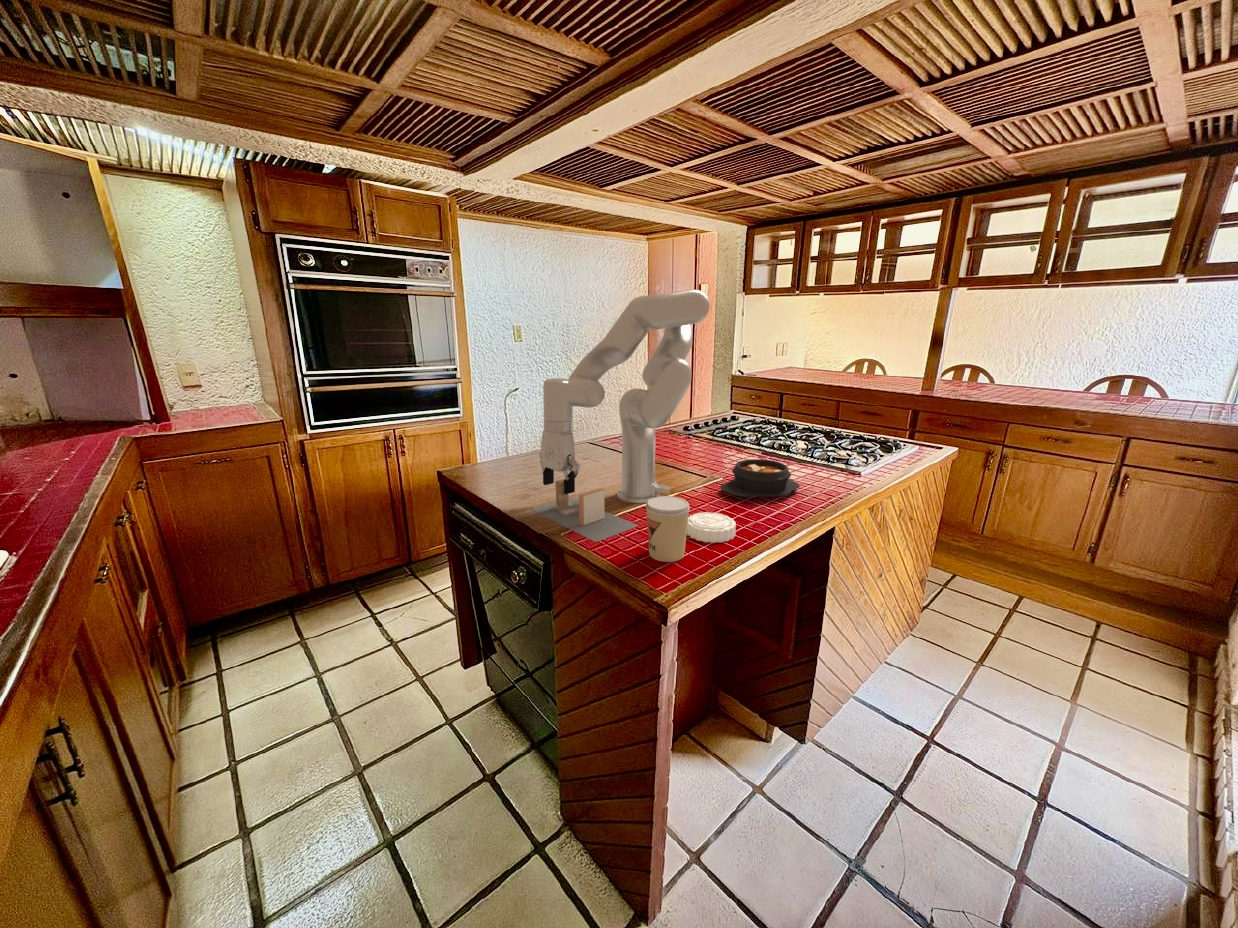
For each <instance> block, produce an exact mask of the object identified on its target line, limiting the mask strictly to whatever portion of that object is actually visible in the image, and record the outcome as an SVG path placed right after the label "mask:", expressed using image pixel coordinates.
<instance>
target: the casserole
mask: <svg viewBox="0 0 1238 928" xmlns="http://www.w3.org/2000/svg"><path fill="white" fill-rule="evenodd" d="M731 472H732V473H733V475H734V478H733V479H731V480H730V481H728V482H725V483H723V484H721V485H720V487H719V488H720V489H721V490H722V491H724V492H726V493H727V494H730V495H733V496H736V497H740V498H762V499H764V498H765V499H768V498H775V497H782V496H783V497H784V496H786V495H788V494H791V493H792V492H793V491H795V490H796V489H799V488H800V486H801V485H800V484H799V483H798V482H796V481H795V480H793V479H791V476H792V473H791V472H790V470H789V466H788V465H786V464H785V463H782V462H780V461H775V460H769V459H762V458H761V459H759V458H757V459H755V458H754V459H753V458H752V459H751V458H750V459H744V460H740V461H737V462H736V464H735V466H734V467H733V468H732V470H731Z"/></svg>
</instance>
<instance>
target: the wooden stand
mask: <svg viewBox="0 0 1238 928" xmlns="http://www.w3.org/2000/svg"><path fill="white" fill-rule="evenodd" d="M554 482H555V502H556V505H554V506H552V509H553V510H556V511H558V512H560V513H562V514H564V515H566V516H568V515H571V514H575V513H578V512H579V507H578V506H575V505H573V504H571V503H569V502H568V499H569V494H564V479H563V478H562V479H559V480H554Z"/></svg>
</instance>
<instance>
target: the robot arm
mask: <svg viewBox="0 0 1238 928" xmlns="http://www.w3.org/2000/svg"><path fill="white" fill-rule="evenodd" d="M710 305H711V304H710V300H709V297H708V295H707V294H705V292H703V291H701V290H699V289H687V290H680V291H679V290H677V291H673V292H669V293H668V292H667V293H659V294H657V293H656V294H648V295H641V296H637V297H635V298H633V299H632V300H631V301H630V302H629V303H628V304H627V306H626V307H625V308H624V309H623V312H622V313H621V314H620V315H619V317H618V318H617V320H616V321H615V323H614V324H613V325H612V326H611V328H610V330H609V331H608V332H607V334H606V335H605V336H604V338H603V339H602V340H601V341H600V342H599V343H598V344H596V345H595V346H594V347H593V348H592V349H591V350H590V351H589V352H588V353H587V354H586V355H585V356H584V357H583V358H582V359H581V361H580V362H579V363H578V364H577V366H576V367H575V368H574V370H573V372H571V374H570V375H569V377H568V378H560V377H559V378H558V377H557V378H554V377H553V378H547V379H545V380H544V381H543V386H542V388H543V389H542V390H543V392H542V393H543V394H542V395H543V397H542V398H543V430H542V435H541V441H540V451H539V452H538V456H539V460H540V461H539V462H540V465H541V471H542V484H543V486H547V485H553V484H554V482H555V476H554V475H555V474H554V473H555V471H556V472H558V473H559V472H562V474H563V477H564V479H563V480H564V494H568V495H569V494H573V493H575V491H576V490H575V489H576V486H575V485H576V478H577V476H578V475H579V471H580V468H581V465H580V464H579V463H578V461H577V460H576V451H575V450H576V449H575V439H574V434H573V432H574V431H573V425H574V424H573V423H574V422H573V421H574V420H573V418H574V416H573V408H574V407H576V408H577V407H579V408H587V409H588V408H589V409H590V408H591V409H592V408H595V407H598V406H599V405H601V403H602V402H603V401H604V399H605V394H606V393H605V389H604V387H603V385H602V384H601V382H599V380H600V379H601V378H602V377H603V376H604V375H605V374H607V372H609V371H610V370H611V369H614V367H617V366H619V365H622V364H623V363H625V362H626V361H627V360H629V359H630V358H631V357H632V355H633V354H634V353H635V351H636V350H637V349H638V347H639V345H640V344H641V343H642V341H643V340H644V338H646V336H647V334H648V333H649V332H650V331H651V330H663V335H662V337H661V339H660V341H659V343H658V345H657V347H656V349H655V350H654V352H653V353H652V354H651V356H650V358H649V360H648V361H647V362H646V365H645V366H644V368H643V370H642V374H641V376H642V380H643V383H644V384H645V385H646V386H647V387H648V388H649V390H648V389H643V388H632V389H629V390H627V391H626V392H625V393H624V394H623V395H622V396H621V398H620V401H619V409H618V412H619V418H620V426H621V465H622V466H621V470H622V471H621V474H622V475H621V476H622V477H621V479H622V480H621V481H622V482H621V483H622V484H621V485H622V487H621V488H620V489H619V490H617V492H616V498H617V499H618V500H620V501H622V502H624V503H629V504H647V502H648V501H649V500H650V499H652V498H655V497H660V496H661V494H670V493H671V488H670V487H671V486H667V484H659V483H657V479H656V430H655V429H659V428H661V427H663V426H665V424H666V423H668V422H669V420H670V419H671V417H672V416H673V414H674V413H675V411H676V410H677V408H678V406H679V405H680V403H681V401H682V399H683V398H684V396H685V395H686V394H687V392H688V390H689V387H690V385H691V383H692V374H693V373H692V369H691V366H690V364H689V363H688V362H687V361H686V358H687V356H688V354H689V352H690V350H691V348H692V345H693V330H692V325H695V324H696V325H697V324H699V323H700V322H702V321H704V320H705V319H706V317H707V316H708V314H709V312H710ZM568 472H569V473H568ZM660 493H661V494H660Z"/></svg>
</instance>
